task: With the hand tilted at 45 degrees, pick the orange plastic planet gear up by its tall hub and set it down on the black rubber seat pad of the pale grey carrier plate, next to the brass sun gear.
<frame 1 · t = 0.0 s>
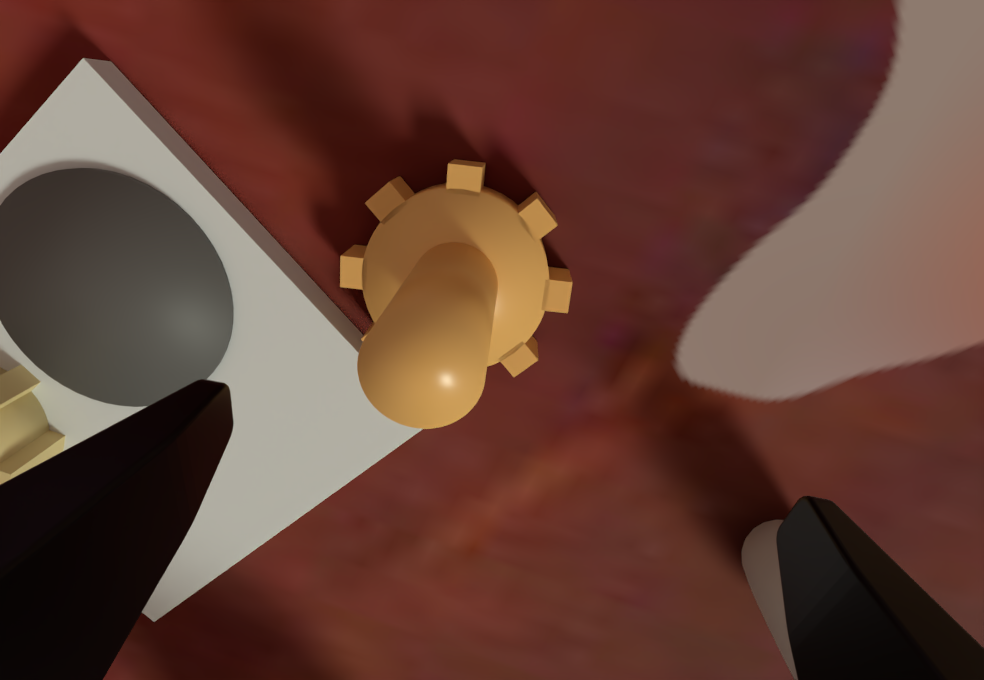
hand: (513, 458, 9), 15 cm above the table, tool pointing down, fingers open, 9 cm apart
planet gear: (460, 271, 24), on the table
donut: (778, 553, 29), on the table
carrier plate: (145, 376, 27), on the table
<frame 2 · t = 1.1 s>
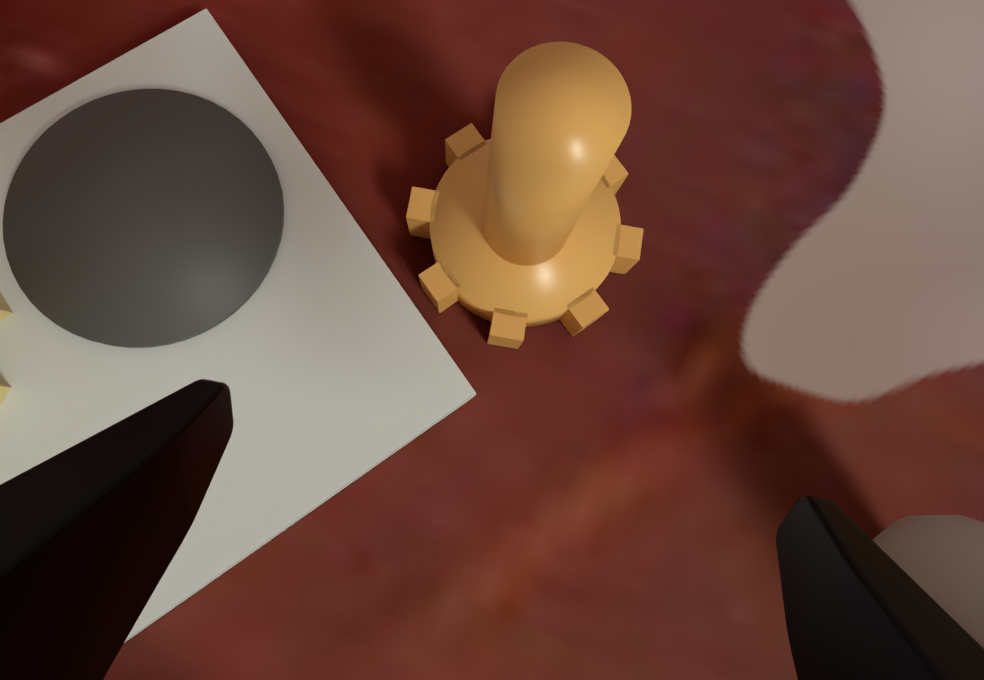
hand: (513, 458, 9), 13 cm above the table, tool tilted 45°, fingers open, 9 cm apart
planet gear: (520, 240, 24), on the table
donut: (894, 623, 23), on the table
carrier plate: (139, 337, 23), on the table
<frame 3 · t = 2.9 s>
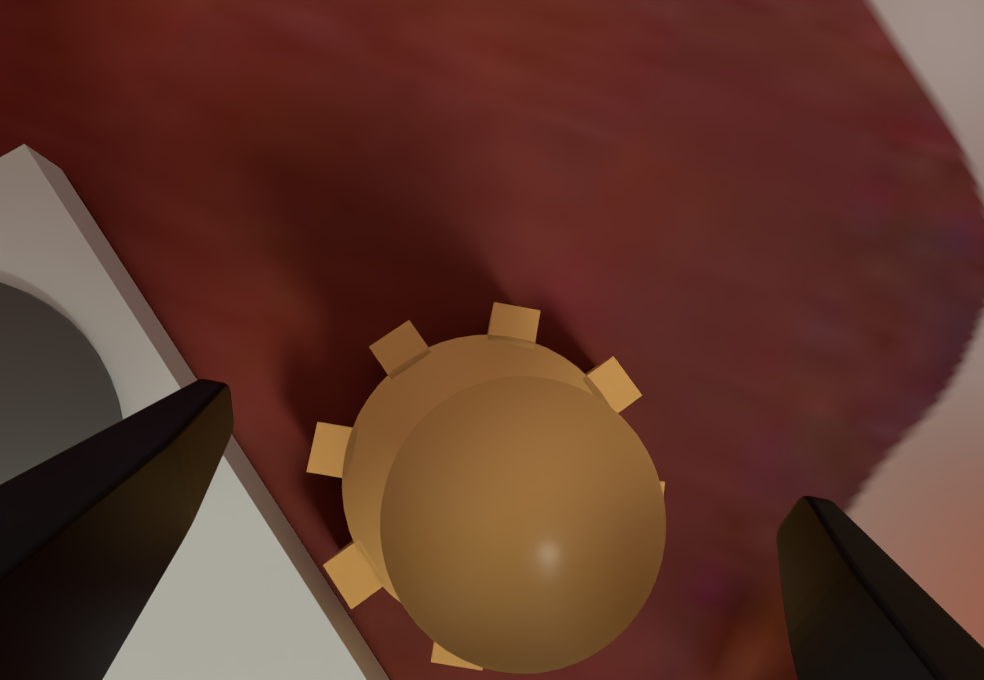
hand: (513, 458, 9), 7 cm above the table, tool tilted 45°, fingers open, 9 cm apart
planet gear: (484, 472, 17), on the table
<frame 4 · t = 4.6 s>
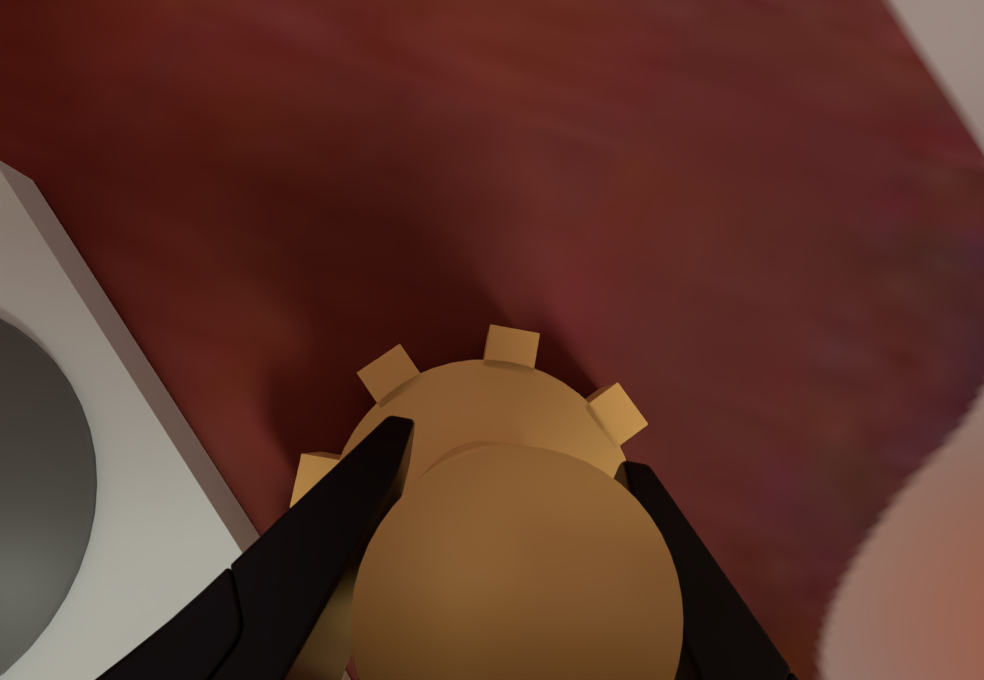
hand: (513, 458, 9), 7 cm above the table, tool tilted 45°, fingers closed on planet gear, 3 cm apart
planet gear: (480, 503, 16), on the table, touching gripper
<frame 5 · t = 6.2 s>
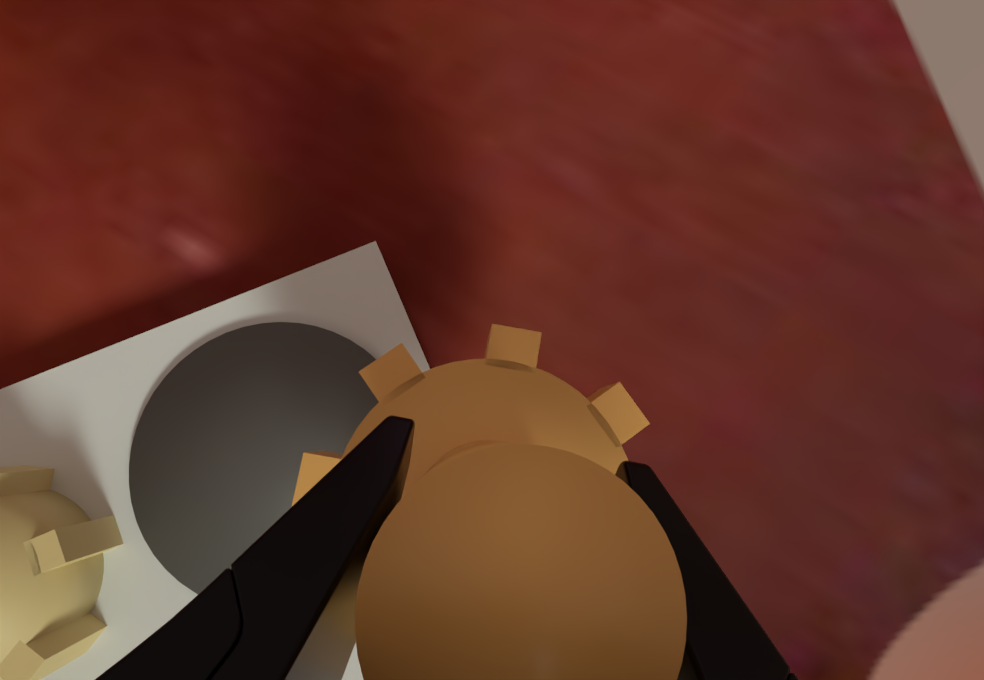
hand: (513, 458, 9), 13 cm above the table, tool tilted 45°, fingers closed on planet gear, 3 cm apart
planet gear: (482, 502, 16), point 7 cm above the table, touching gripper
carrier plate: (240, 572, 22), on the table
when the fingers open (10 cm above the table, at t = 8.2 s): planet gear drops 1 cm, resting on carrier plate.
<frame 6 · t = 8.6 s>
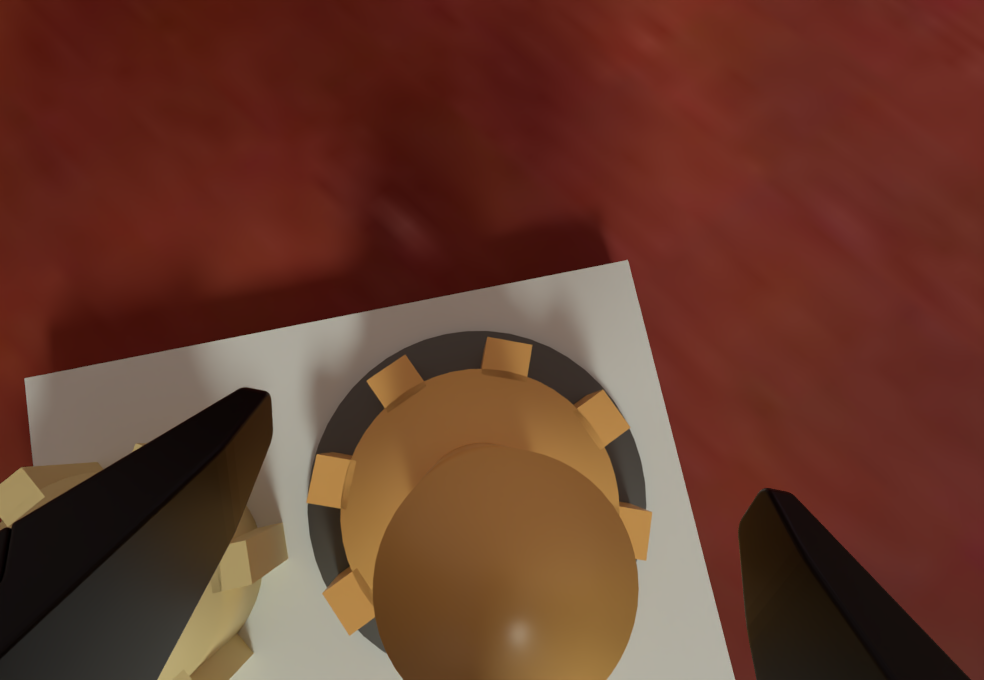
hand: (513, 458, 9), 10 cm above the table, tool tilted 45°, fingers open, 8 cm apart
planet gear: (479, 499, 17), point 2 cm above the table, touching carrier plate
carrier plate: (400, 613, 18), on the table
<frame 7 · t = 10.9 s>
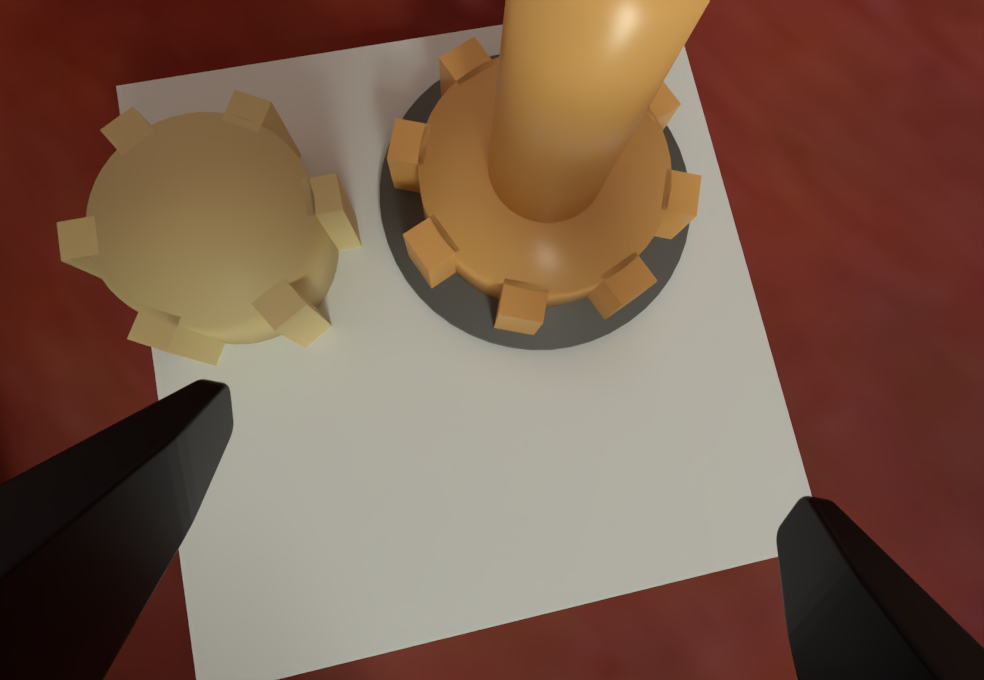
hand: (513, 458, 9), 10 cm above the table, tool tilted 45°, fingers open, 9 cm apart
planet gear: (536, 195, 19), point 2 cm above the table, touching carrier plate
carrier plate: (460, 318, 20), on the table
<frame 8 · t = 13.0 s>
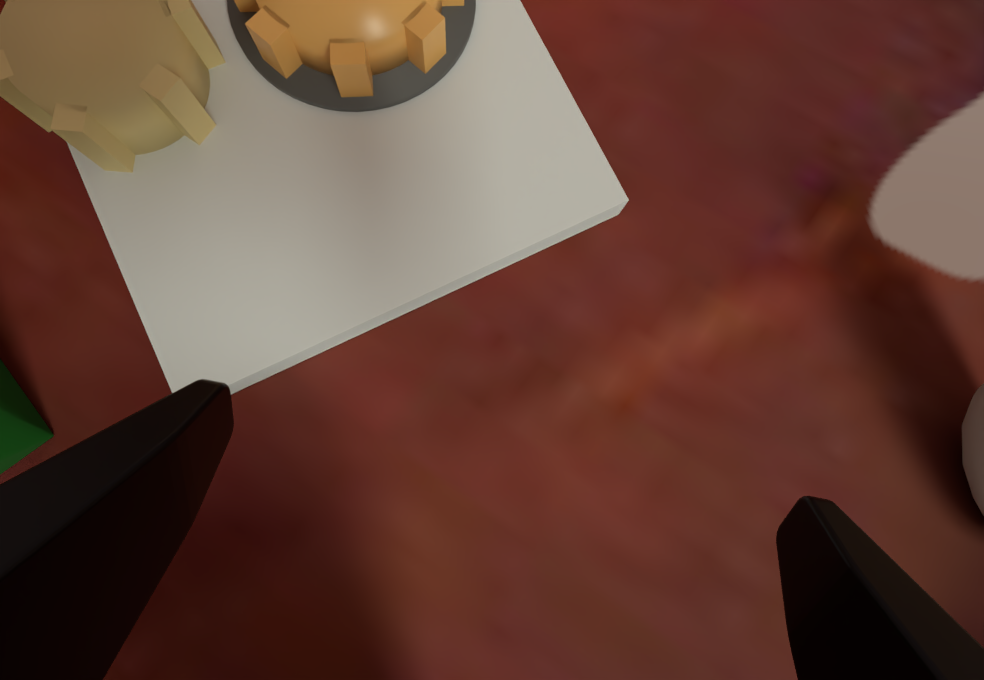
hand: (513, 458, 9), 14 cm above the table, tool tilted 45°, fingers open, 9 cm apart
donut: (982, 484, 24), on the table
carrier plate: (323, 112, 25), on the table
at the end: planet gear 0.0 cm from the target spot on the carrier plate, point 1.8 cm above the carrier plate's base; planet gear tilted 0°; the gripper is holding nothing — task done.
